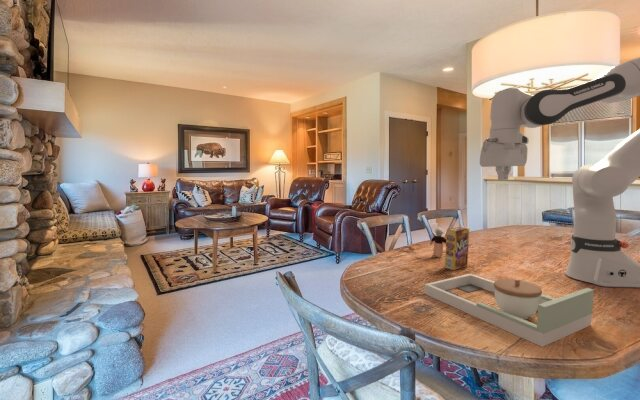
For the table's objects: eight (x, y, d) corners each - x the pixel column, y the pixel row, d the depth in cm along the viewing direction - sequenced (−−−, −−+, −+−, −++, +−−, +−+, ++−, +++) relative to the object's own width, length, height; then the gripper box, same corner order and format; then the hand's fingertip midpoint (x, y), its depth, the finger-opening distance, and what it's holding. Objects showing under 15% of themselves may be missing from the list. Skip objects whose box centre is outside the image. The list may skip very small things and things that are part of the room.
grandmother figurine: (428, 257, 142) (429, 228, 140) (429, 255, 145) (430, 226, 144) (448, 259, 139) (449, 229, 137) (448, 256, 142) (449, 227, 141)
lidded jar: (539, 327, 80) (541, 290, 79) (490, 316, 86) (491, 281, 85) (540, 311, 89) (542, 277, 88) (495, 302, 95) (497, 270, 94)
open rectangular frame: (476, 306, 86) (477, 283, 85) (524, 291, 95) (525, 271, 94) (543, 334, 71) (544, 307, 71) (592, 313, 81) (594, 289, 80)
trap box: (424, 293, 102) (424, 284, 102) (469, 282, 111) (469, 273, 111) (542, 346, 72) (542, 333, 71) (590, 325, 81) (591, 313, 81)
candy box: (454, 271, 123) (455, 230, 122) (444, 268, 127) (445, 228, 125) (468, 266, 128) (469, 227, 127) (458, 264, 132) (459, 226, 130)
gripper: (493, 137, 104) (491, 181, 105) (531, 138, 113) (530, 179, 114) (475, 138, 109) (474, 180, 111) (513, 140, 119) (512, 178, 120)
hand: (502, 180), depth 113 cm, fingers closed
